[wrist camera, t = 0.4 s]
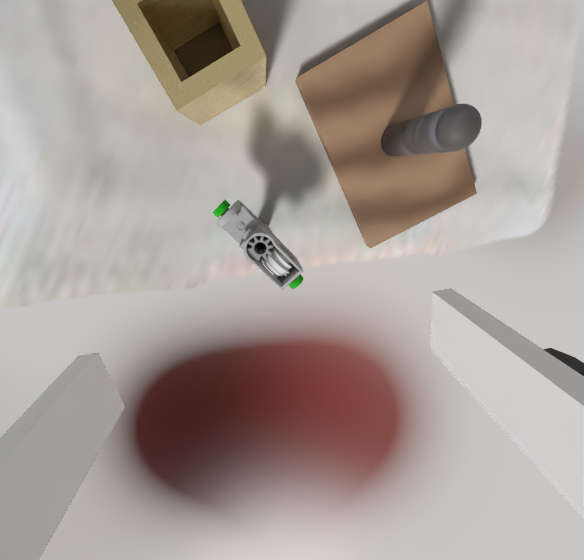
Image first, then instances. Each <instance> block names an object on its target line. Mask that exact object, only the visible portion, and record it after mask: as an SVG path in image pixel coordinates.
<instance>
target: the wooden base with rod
mask: <svg viewBox="0 0 584 560" xmlns="http://www.w3.org/2000/svg"><path fill="white" fill-rule="evenodd" d="M296 83H297V86H298V88H299V90H300V93H301V95H302V97H303V100H304V102H305V104H306V107H307V109H308V111H309V114H310V116H311V118H312V120H313V123H314V125H315V127H316V130H317V132H318V134H319V137H320V139H321V141H322V144H323V146H324V148H325V151H326V153H327V155H328V158H329V160H330V162H331V164H332V167H333V169H334V171H335V174H336V176H337V178H338V181H339V183H340V185H341V188H342V190H343V192H344V195H345V197H346V199H347V201H348V204H349V206H350V208H351V211H352V213H353V215H354V218H355V220H356V222H357V225H358V227H359V229H360V232H361V234H362V236H363V239H364V241H365V243H366V245H367V246H368V247H369V248H372V247H374V246H376V245H378V244H380V243H382V242H384V241H386V240H388V239H390V238H391V237H393V236H395V235H397V234H399V233H401V232H403V231H405V230H407V229H409V228H411V227H413V226H415V225H417V224H419V223H420V222H422V221H424V220H426V219H428V218H430V217H432V216H434V215H436V214H438V213H440V212H442V211H444V210H446V209H448V208H450V207H451V206H453V205H455V204H457V203H459V202H461V201H463V200H465V199H467V198H469V197H471V196H473V195H475V194H477V192H476V188H475V184H474V180H473V176H472V173H471V169H470V165H469V161H468V157H467V153H466V149H465V148H466V147H468V146H469V145H470V144H472V143H473V142H474V140H475V139H476V138H477V136H478V134H479V132H480V129H481V116H480V114H479V112H478V110H477V109H476V108H474V107H473V106H471V105H468V104H456V105H454V102H453V99H452V95H451V91H450V87H449V83H448V79H447V75H446V71H445V67H444V63H443V60H442V56H441V52H440V48H439V44H438V40H437V36H436V32H435V28H434V25H433V21H432V17H431V13H430V9H429V5H428V1H426V2H424V3H422V4H420V5H419V6H417V7H415V8H414V9H412V10H410V11H409V12H407V13H405V14H404V15H402V16H400V17H398V18H397V19H395V20H393V21H392V22H390V23H388V24H387V25H385V26H383V27H381V28H380V29H378V30H376V31H375V32H373V33H371V34H370V35H368V36H366V37H365V38H363V39H361V40H359V41H358V42H356V43H354V44H353V45H351V46H349V47H348V48H346V49H344V50H343V51H341V52H339V53H337V54H336V55H334V56H332V57H331V58H329V59H327V60H326V61H324V62H322V63H321V64H319V65H317V66H315V67H314V68H312V69H310V70H309V71H307V72H305V73H304V74H302V75H300V76H298V77H297V79H296Z"/></svg>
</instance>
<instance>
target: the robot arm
mask: <svg viewBox="0 0 584 560" xmlns="http://www.w3.org/2000/svg"><path fill="white" fill-rule="evenodd" d="M430 349H431V350H432V352H433V353H434V354H435V355H436V356H437V357H438V358H439V359H440V361H441V362H442V363H443V364H444V365H445V366H446V367H447V368H448V369H449V370H450V372H451V373H452V374H453V375H454V376H455V377H456V378H457V379H458V380H459V382H460V383H461V384H462V385H463V386H464V387H465V388H466V389H467V390H468V391H469V393H470V394H471V395H472V396H473V397H474V398H475V399H476V400H477V401H478V403H479V404H480V405H481V406H482V407H483V408H484V409H485V410H486V411H487V412H488V413H489V415H490V416H491V417H492V418H493V419H494V420H495V421H496V422H497V424H498V425H499V426H500V427H501V428H502V429H503V430H504V431H505V432H506V434H507V435H508V436H509V437H510V438H511V439H512V440H513V441H514V442H515V443H516V445H517V446H518V447H519V448H520V449H521V450H522V451H523V452H524V453H525V455H526V456H527V457H528V458H529V459H530V460H531V461H532V462H533V463H534V464H535V466H536V467H537V468H538V469H539V470H540V471H541V472H542V473H543V474H544V476H545V477H546V478H547V479H548V480H549V481H550V482H551V483H552V484H553V486H555V488H556V489H557V490H558V491H559V492H560V493H561V494H562V495H563V496H564V498H565V499H566V500H567V501H568V502H569V503H570V504H571V505H572V507H573V508H574V509H576V511H577V512H578V513H579V514H580V515H581V516H582V518H583V519H584V363H583V362H581V361H579V360H578V359H576V358H575V357H572V356H570V355H567V354H565V353H562V352H560V351H557V350H554V349H552V348H548V349H542V348H540V347H539V346H537V345H536V344H534V343H533V342H531V341H529V340H528V339H526V338H525V337H524V336H522V335H521V334H519V333H518V332H516V331H515V330H513V329H512V328H510V327H508V326H507V325H505V324H504V323H502V322H501V321H499V320H498V319H496V318H495V317H493V316H492V315H490V314H489V313H487V312H486V311H484V310H483V309H481V308H480V307H478V306H477V305H475V304H474V303H472V302H471V301H469V300H468V299H466V298H465V297H463V296H462V295H460V294H459V293H457V292H456V291H454V290H453V289H445V290H440V291H434V292H432V318H431V347H430ZM124 407H125V406H124V405H123V402H122V400H121V398H120V396H119V394H118V392H117V390H116V388H115V386H114V384H113V382H112V379H111V377H110V376H109V374H108V371H107V369H106V367H105V365H104V363H103V361H102V359H101V357H100V355H99V353H93V354H87V355H82V356H78V357H77V358H76V359H75V360H74V361H73V362H72V363H71V364H70V365H69V366H68V367H67V368H66V369H65V371H64V372H63V373H62V374H61V375H60V376H59V377H58V378H57V379H56V380H55V381H54V382H53V383H52V384H51V385H50V386H49V387H48V388H47V390H45V392H44V393H43V394H42V395H41V396H40V397H39V398H38V399H37V400H36V401H35V402H34V403H33V404H32V405H31V406H30V407H29V408H28V409H27V411H26V412H25V413H24V414H23V415H22V416H21V417H20V418H19V419H18V420H17V421H16V422H15V423H14V424H13V425H12V426H11V428H9V430H8V431H7V432H6V433H5V434H4V435H3V436H2V437H1V438H0V560H39V559H40V557H41V555H42V553H43V552H44V550H45V548H46V546H47V545H48V543H49V541H50V539H51V537H52V536H53V534H54V532H55V530H56V528H57V527H58V525H59V523H60V521H61V520H62V518H63V516H64V514H65V512H66V511H67V509H68V507H69V505H70V504H71V502H72V500H73V498H74V496H75V495H76V493H77V491H78V489H79V488H80V486H81V484H82V482H83V480H84V478H85V477H86V475H87V473H88V471H89V470H90V468H91V466H92V464H93V462H94V461H95V459H96V457H97V455H98V454H99V452H100V450H101V448H102V446H103V445H104V443H105V441H106V439H107V438H108V436H109V434H110V432H111V430H112V429H113V427H114V425H115V423H116V422H117V420H118V418H119V416H120V414H121V412H122V411H123V409H124Z"/></svg>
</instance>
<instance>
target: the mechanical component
mask: <svg viewBox="0 0 584 560" xmlns="http://www.w3.org/2000/svg"><path fill="white" fill-rule="evenodd" d="M229 206H230V204H229V203H228V202H227V201H226V200H224V201H223V202H222V203H221V204H220V205H219V206H218V207H217V208H216V209H215V211H214V212H213V213H214V214H215V215H216V216H217V217H219V216H220V215H221V216H222V217H221V218H220V219H219V220H218V221H217V222H216V224H217V225H218V226H219V227H220V228H222V227H223V228H224V229H225V230H226V231H227V232H228V233H229V234H230V235H231V236H232V237H233V238H234V239H235V240H236V241H237V242H238V243H239V244H240V247H241V248H242V249H243V250H244V254H245V256H246V258H247V259H248V260H249V261H250V262H251V263H253V264H255V265H256V266H257V267H259V268H260V269H261V270H262V271H263V272H264V273H265V274H266V275H267V276H268V277H269V278H270V279H271V280H272V281H273V282H274V283H276V284H277V285H278V286H279V287H280V288H281V289H282V290H283V289H285V287H287V286H288V285H289V286H290V287H291V288H292V289H294V288H296V287H297V286H298V285H300V283H301V282H302V280H303V277H302V276H301V275H300V274H301V273H302V272H303V270H302V267H301V266H300V264H299V261H298V260H297V259H296V257H295V256H294V255H293V254H292V253H291V252H290V251H289V250H288V249H287V248H286V247H285V246H284V245H283V244H282V243H281V241H280V240H279V239H278V238H277V237H276V236H275V235H274V234H273V233H272V231H271V229H270V228H269V227H268V226H267V225H266V223H264V222H261V221H260V220H259V219H258V218H257V217H256V216H255V215H254V214H253V213H252V212H251V211H250V210H249V209H248V208H247V207H246V206H245V205H244V204H243V203H242V202H240V201H239V200H237V201H236V202H235V203H234V205H233V206H232V207H231V208H230V209H228V207H229ZM263 264H265V265H266V267H267V268H268V269H269V270H270V271H271V272H272V273H273V274H274V276H273V275H272V274H271V273H270V272H269V271H268V270H267V269H266V268H265V266H264V265H263Z"/></svg>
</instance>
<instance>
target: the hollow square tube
mask: <svg viewBox="0 0 584 560" xmlns="http://www.w3.org/2000/svg"><path fill="white" fill-rule="evenodd" d="M112 1H113V3H114V5H115V6H116V8H117V10H118V11H119V13H120V15H121V16H122V18H123V20H124V22H125V23H126V25H127V27H128V28H129V30H130V32H131V33H132V35H133V37H134V39H135V40H136V42H137V44H138V45H139V47H140V49H141V50H142V52H143V54H144V56H145V57H146V59H147V61H148V62H149V64H150V66H151V67H152V69H153V71H154V73H155V74H156V76H157V78H158V79H159V81H160V83H161V84H162V86H163V88H164V89H165V91H166V93H167V95H168V96H169V98H170V100H171V101H172V103H173V105H174V106H175V108H176V110H177V111H179V112H180V113H182V114H183V115H185V116H186V117H188V118H189V119H191V120H192V121H194V122H196V123H197V124H199V125H201V124H203V123H205V122H206V121H208V120H210V119H211V118H213V117H215V116H216V115H218V114H220V113H222V112H223V111H225V110H227V109H228V108H230V107H232V106H233V105H235V104H237V103H238V102H240V101H242V100H243V99H245V98H247V97H248V96H250V95H252V94H254V93H255V92H257V91H259V90H260V89H262V88H264V87H265V86H266V54H265V52H264V50H263V47H262V45H261V43H260V41H259V39H258V36H257V34H256V32H255V30H254V28H253V25H252V23H251V21H250V19H249V17H248V14H247V12H246V10H245V8H244V6H243V3H242V1H241V0H112ZM219 22H220V25H221V27H222V29H223V31H224V33H225V35H226V37H227V39H228V41H229V43H230V45H231V47H232V49H233V51H231V52H230V53H228V54H226V55H225V56H223V57H222V58H220V59H218V60H217V61H215V62H213V63H212V64H210V65H209V66H207V67H205V68H204V69H202V70H200V71H199V72H197V73H195V74H194V75H192V76H191V77H189V78H188V76H187V74H186V72H185V70H184V68H183V67H182V65H181V63H180V61H179V59H178V58H177V56H176V54H175V52H174V50H176V49H177V48H179V47H180V46H182V45H184V44H185V43H187V42H188V41H190V40H192V39H193V38H195V37H196V36H198V35H200V34H201V33H203V32H204V31H206V30H208V29H209V28H211V27H212V26H214V25H216V24H217V23H219Z"/></svg>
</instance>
